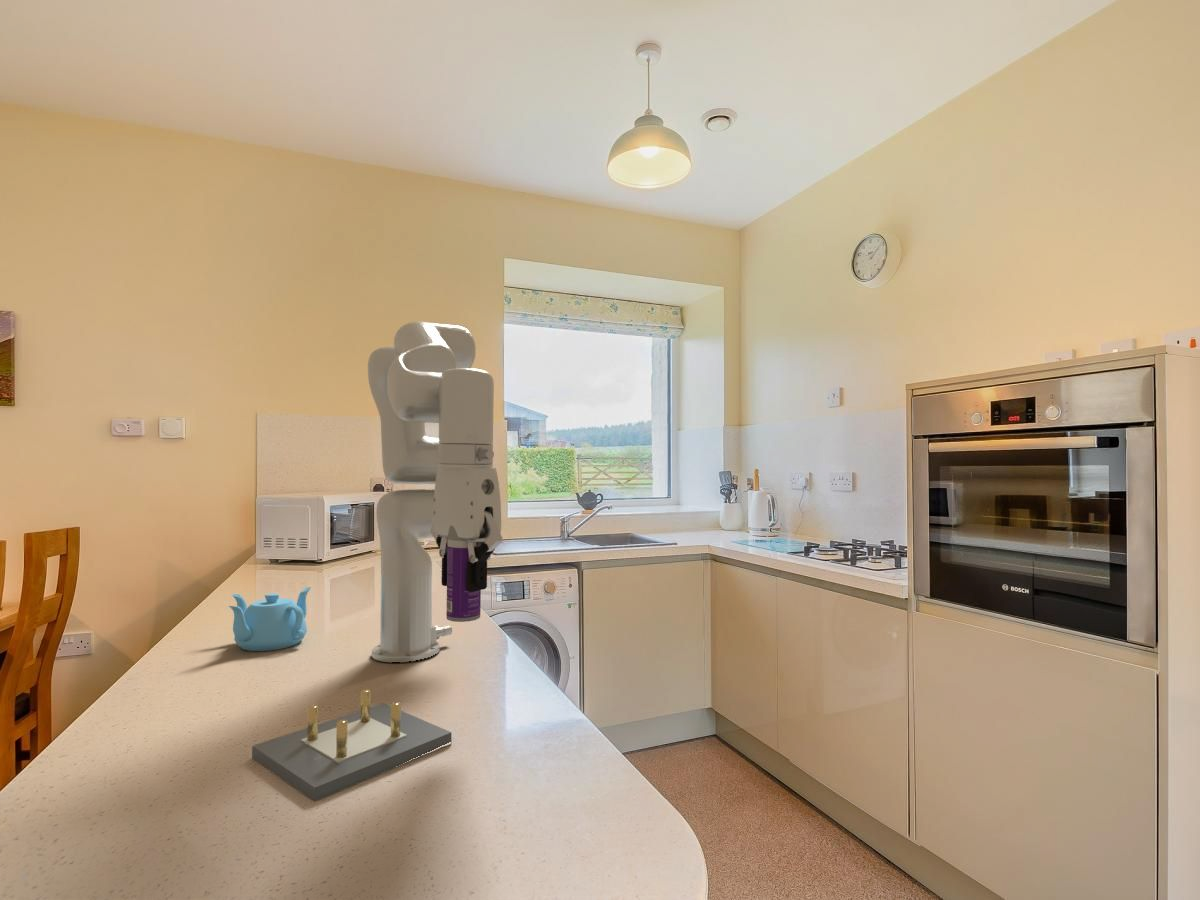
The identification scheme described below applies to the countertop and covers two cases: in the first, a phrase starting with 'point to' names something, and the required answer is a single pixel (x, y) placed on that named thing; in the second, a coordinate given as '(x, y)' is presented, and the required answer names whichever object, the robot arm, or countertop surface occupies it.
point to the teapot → (269, 622)
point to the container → (460, 582)
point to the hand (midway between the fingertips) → (464, 585)
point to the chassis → (366, 751)
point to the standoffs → (342, 724)
